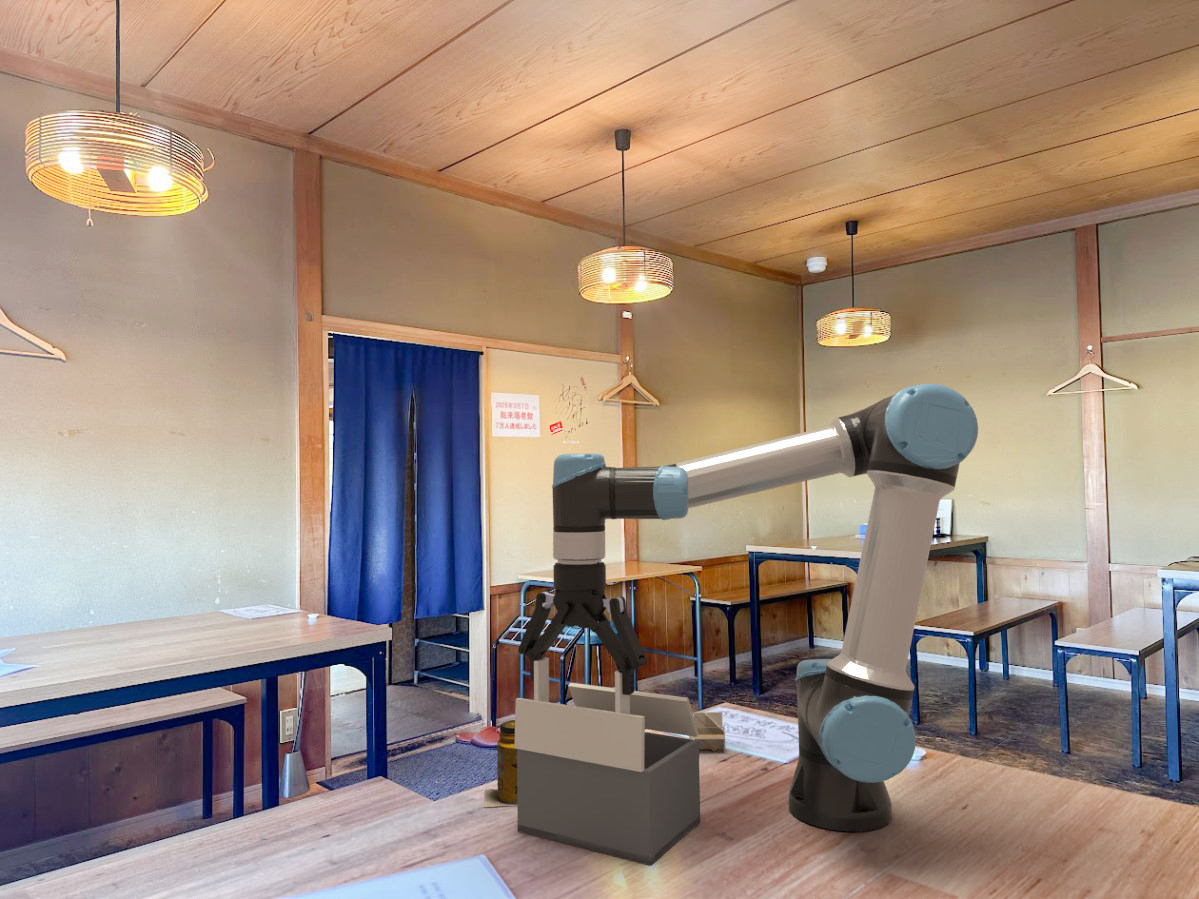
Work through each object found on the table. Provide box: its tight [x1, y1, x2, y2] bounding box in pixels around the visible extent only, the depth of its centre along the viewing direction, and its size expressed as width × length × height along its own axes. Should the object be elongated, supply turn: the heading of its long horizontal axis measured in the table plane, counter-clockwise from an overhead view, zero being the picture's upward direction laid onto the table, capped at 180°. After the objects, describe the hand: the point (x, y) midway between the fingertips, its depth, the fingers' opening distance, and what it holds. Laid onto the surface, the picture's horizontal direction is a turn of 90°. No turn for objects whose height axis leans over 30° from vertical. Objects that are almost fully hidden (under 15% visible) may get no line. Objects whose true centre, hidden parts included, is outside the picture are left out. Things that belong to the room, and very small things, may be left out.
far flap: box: [567, 682, 699, 737], centre depth 123 cm, size 21×7×1 cm
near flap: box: [514, 697, 646, 772], centre depth 110 cm, size 21×7×1 cm
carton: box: [516, 731, 701, 866], centre depth 116 cm, size 22×16×12 cm
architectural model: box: [688, 711, 726, 752], centre depth 151 cm, size 3×7×7 cm, turn 89°
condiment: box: [483, 719, 517, 808], centre depth 128 cm, size 7×8×12 cm
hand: (580, 711), depth 111 cm, fingers open, 13 cm apart
